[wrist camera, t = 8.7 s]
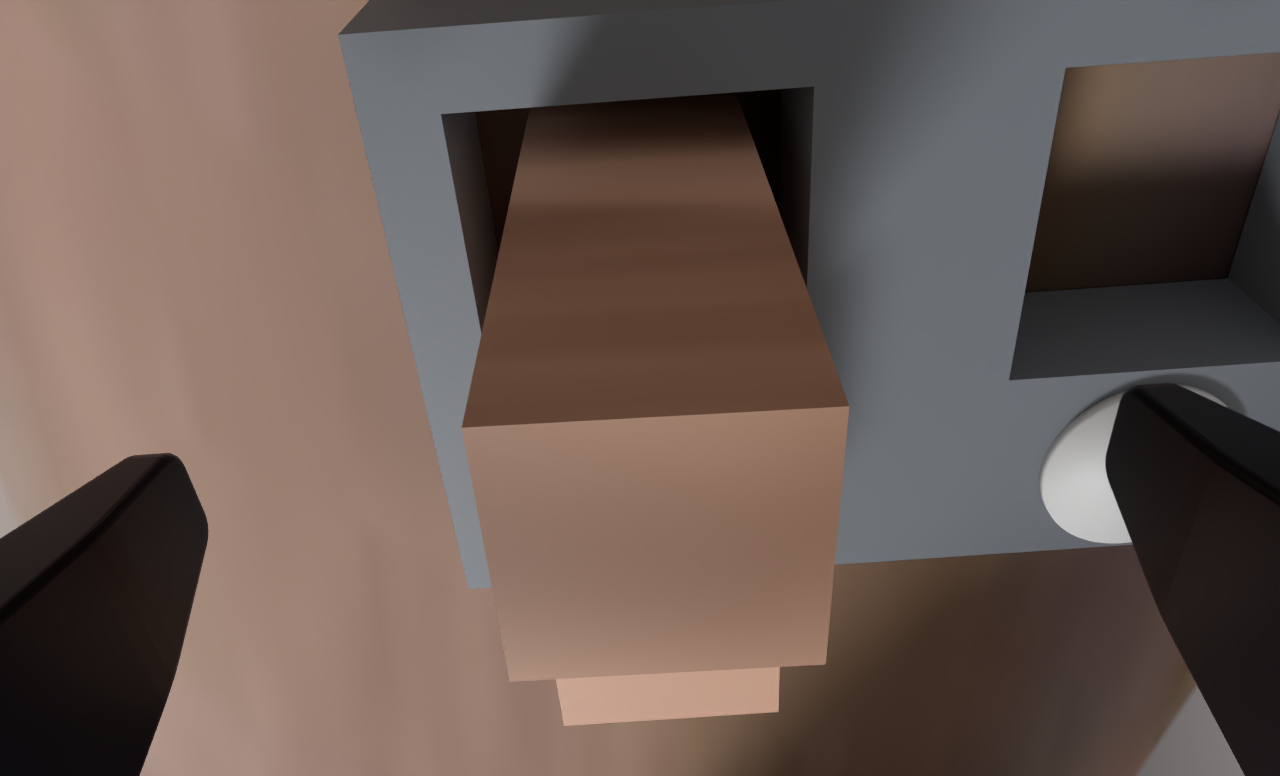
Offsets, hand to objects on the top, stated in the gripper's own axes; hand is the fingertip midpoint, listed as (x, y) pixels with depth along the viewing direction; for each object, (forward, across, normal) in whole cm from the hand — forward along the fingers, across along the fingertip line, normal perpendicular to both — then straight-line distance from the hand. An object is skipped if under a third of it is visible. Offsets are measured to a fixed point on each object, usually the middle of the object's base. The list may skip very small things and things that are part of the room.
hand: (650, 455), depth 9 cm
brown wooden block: (+7, 0, 0) cm, 7 cm away
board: (+7, -4, +1) cm, 8 cm away
